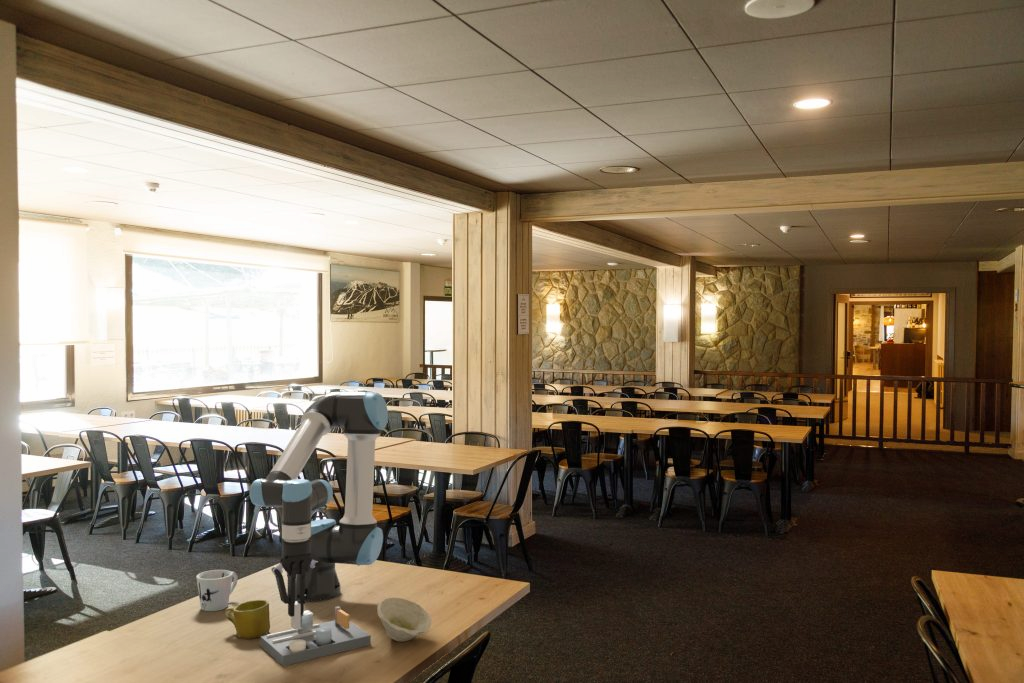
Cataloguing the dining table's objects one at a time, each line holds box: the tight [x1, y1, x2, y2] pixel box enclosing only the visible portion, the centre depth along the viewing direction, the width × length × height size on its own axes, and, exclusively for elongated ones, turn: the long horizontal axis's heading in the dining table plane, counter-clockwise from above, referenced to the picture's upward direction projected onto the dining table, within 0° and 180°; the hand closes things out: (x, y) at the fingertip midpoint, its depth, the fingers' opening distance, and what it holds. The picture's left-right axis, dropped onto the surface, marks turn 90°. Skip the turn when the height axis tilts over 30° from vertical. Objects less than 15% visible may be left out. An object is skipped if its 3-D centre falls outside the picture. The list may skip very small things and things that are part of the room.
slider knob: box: [298, 610, 314, 634], centre depth 212 cm, size 3×3×5 cm
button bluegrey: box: [316, 627, 332, 646], centre depth 206 cm, size 4×4×3 cm
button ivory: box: [290, 639, 306, 653], centre depth 201 cm, size 4×4×3 cm
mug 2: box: [223, 599, 271, 640], centre depth 218 cm, size 12×10×10 cm
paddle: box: [334, 606, 350, 629], centre depth 215 cm, size 7×1×5 cm, turn 37°
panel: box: [260, 619, 372, 667], centre depth 210 cm, size 16×24×3 cm, turn 127°
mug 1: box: [196, 569, 239, 612], centre depth 241 cm, size 10×15×10 cm
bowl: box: [376, 597, 432, 643], centre depth 214 cm, size 15×14×10 cm
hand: (295, 627), depth 210 cm, fingers closed
